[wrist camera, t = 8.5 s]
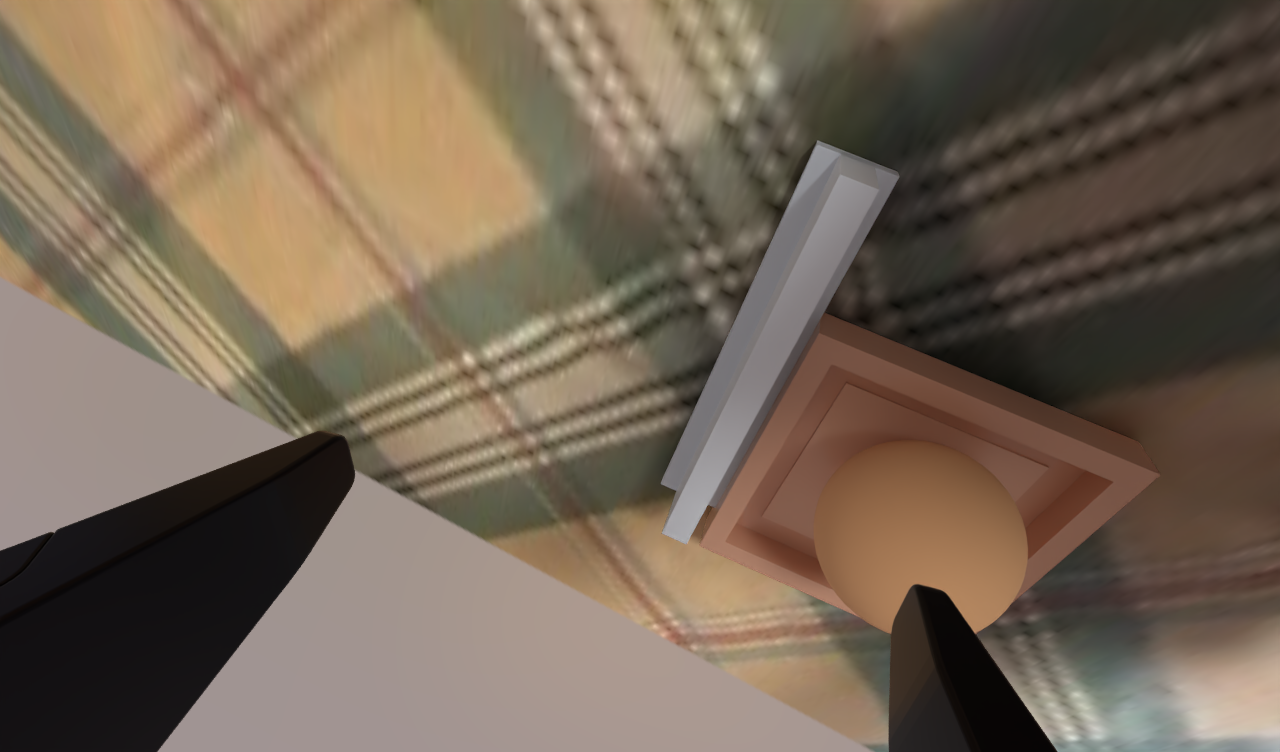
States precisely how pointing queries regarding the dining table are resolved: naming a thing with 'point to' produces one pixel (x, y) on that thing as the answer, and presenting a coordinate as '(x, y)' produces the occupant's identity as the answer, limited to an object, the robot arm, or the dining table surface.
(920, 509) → the ball
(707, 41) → the dining table surface
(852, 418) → the dish
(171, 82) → the dining table surface
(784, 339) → the wall
